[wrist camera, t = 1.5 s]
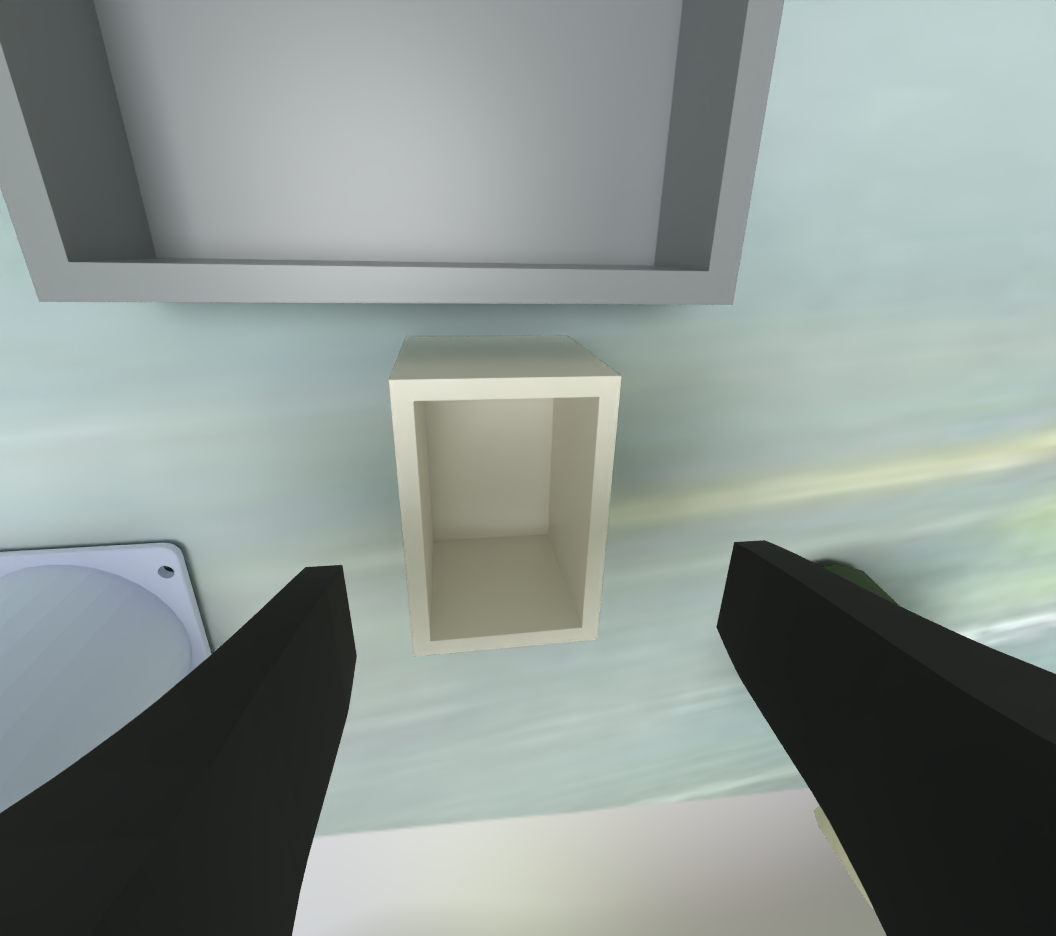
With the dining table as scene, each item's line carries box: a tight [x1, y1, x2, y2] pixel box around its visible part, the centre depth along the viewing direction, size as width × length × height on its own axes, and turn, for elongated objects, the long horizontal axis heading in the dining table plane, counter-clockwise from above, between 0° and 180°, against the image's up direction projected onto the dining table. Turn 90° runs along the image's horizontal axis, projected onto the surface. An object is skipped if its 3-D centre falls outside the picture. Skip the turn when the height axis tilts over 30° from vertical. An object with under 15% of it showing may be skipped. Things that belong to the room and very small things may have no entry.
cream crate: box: [389, 336, 621, 657], centre depth 16 cm, size 8×5×6 cm
